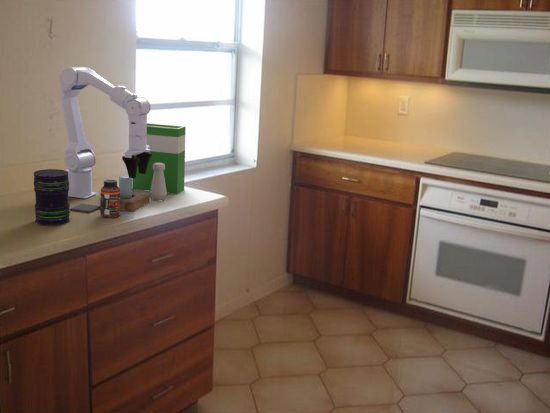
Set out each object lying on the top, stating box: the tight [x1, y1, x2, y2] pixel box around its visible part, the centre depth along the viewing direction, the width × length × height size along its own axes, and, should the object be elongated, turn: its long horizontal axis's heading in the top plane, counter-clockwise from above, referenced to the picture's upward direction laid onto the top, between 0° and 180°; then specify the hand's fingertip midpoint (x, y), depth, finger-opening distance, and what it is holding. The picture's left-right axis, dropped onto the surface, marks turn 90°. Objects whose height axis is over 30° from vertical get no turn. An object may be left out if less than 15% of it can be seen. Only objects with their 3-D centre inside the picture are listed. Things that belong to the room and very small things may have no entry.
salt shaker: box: [149, 163, 168, 202], centre depth 215 cm, size 6×6×13 cm
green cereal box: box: [132, 122, 186, 195], centre depth 228 cm, size 18×7×24 cm, turn 78°
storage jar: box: [33, 168, 71, 227], centre depth 183 cm, size 10×10×15 cm
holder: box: [99, 192, 151, 213], centre depth 207 cm, size 12×12×3 cm
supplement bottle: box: [100, 179, 121, 219], centre depth 193 cm, size 6×6×11 cm
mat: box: [70, 203, 101, 214], centre depth 200 cm, size 7×7×1 cm
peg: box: [118, 175, 133, 199], centre depth 206 cm, size 4×4×9 cm
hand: (137, 175), depth 206 cm, fingers open, 7 cm apart
